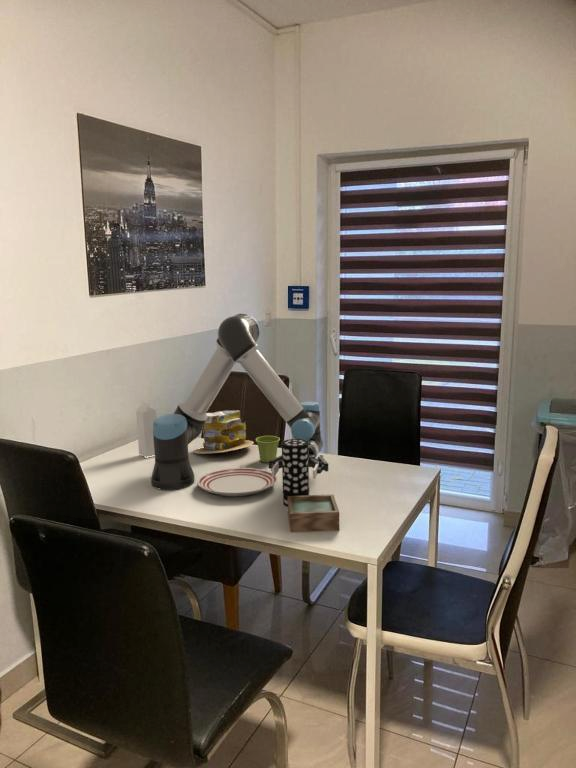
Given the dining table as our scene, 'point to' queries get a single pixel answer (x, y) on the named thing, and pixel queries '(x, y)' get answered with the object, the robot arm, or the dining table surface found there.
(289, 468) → the white-spotted black cylinder
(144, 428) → the milk
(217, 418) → the plate of food packages
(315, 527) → the square wooden tray
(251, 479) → the dinner plate
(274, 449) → the plant pot
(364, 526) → the dining table surface
